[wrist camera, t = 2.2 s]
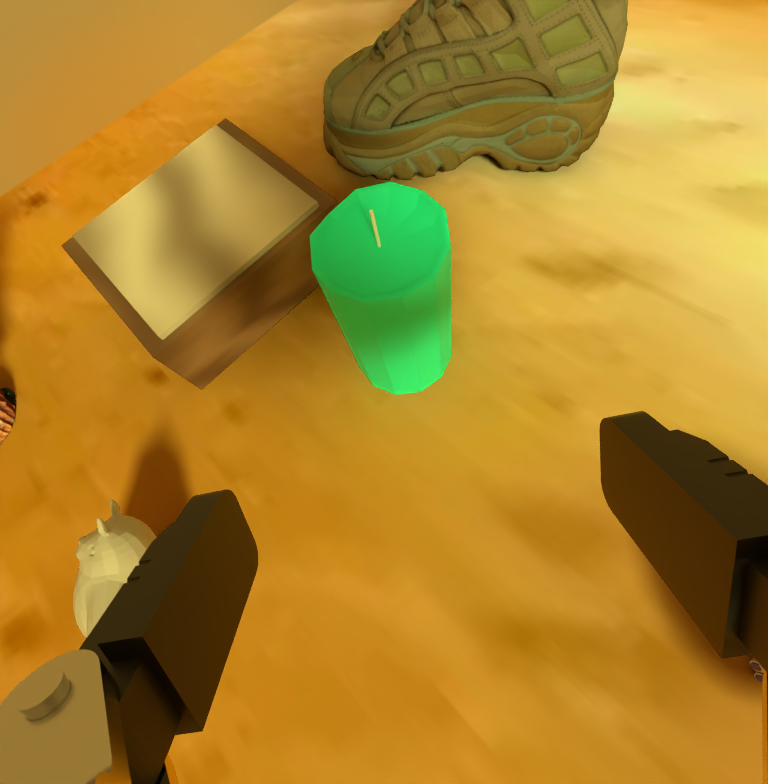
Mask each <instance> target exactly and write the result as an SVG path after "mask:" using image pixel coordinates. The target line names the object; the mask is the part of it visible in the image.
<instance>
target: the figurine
mask: <svg viewBox="0 0 768 784" xmlns="http://www.w3.org/2000/svg"><path fill="white" fill-rule="evenodd" d="M110 504H111V513H112V516H111V517H110V518H109V519H108V520H107V521H106V522H104V521H103V520H102V519H101V518H97V525H98V528H97V529H96V530H95V531H93V532H92V533H90V534H88V535H87V536H84V537H81V538H80V539H79V546H78V549H77V553H76V556H77V558H78V559H79V560H80V564H79V566H80V568H79V571H78V575H77V578H76V584H75V590H74V595H73V609H74V614H75V618H76V622H77V625H78V627H79V629H80V630H81V632H82V633H83V635H84V636H85V637H86V638H87V637H88V635H89V634H90V633H91V631H92V630H93V628H94V627H95V625H96V624H97V622H98V621H99V619H100V618H101V616H102V615H103V613H104V612H105V610H106V609H107V607H108V606H109V604H110V603H111V602H112V600H113V599H114V597H115V596H116V594H117V593H118V591H119V590H120V588H121V587H122V585H123V584H124V583H127V578H128V576H129V575H130V574H131V572H132V571H133V569H134V568H135V566H138V565H139V560H140V559H141V557H142V556H143V554H144V553H145V551H146V550H147V548H148V547H149V546H150V544H151V543H152V541H153V540H154V539H156V538H157V536H156V535H155V534H154V533H153V531H152V530H151V529H150V528H149V527H148V526H147V525H146V524H145V523H144V522H142V521H141V520H139V519H137V518H135V517H131V516H127V515H121V514H120V513H119V505H118V504H117V503H116V502H115V501H114V500H112V499H111V500H110Z"/></svg>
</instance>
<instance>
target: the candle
mask: <svg viewBox="0 0 768 784" xmlns="http://www.w3.org/2000/svg"><path fill="white" fill-rule="evenodd" d="M310 247H311V262H312V270H313V272H314V274H315V277H316V279H317V281H318V283H319V285H320V287H321V289H322V291H323V293H324V295H325V297H326V299H327V301H328V303H329V305H330V307H331V309H332V311H333V314H334V316H335V318H336V320H337V322H338V324H339V326H340V328H341V330H342V332H343V334H344V336H345V338H346V340H347V342H348V344H349V346H350V349H351V351H352V353H353V355H354V357H355V359H356V361H357V363H358V365H359V367H360V369H361V370H362V371H363V373H364V374H365V375H366V377H367V378H368V379H369V381H370V382H371V383H372V385H373V386H375V387H378V388H380V389H383V390H385V391H388V392H390V393H393V394H395V395H398V394H406V393H414V392H421V391H423V390H424V389H426V388H427V387H428V386H430V385H431V384H433V383H434V382H435V381H437V380H438V379H440V378H441V377H442V375H443V373H444V371H445V369H446V367H447V364H448V362H449V360H450V358H451V356H452V355H451V243H450V236H449V229H448V222H447V215H446V209H445V208H444V207H442V206H441V205H440V204H439V203H437V202H436V201H435V200H434V199H433V198H431V197H430V196H429V195H428V194H427V193H425V192H424V191H422V190H419V189H415V188H412V187H408V186H405V185H401V184H397V183H394V182H386V183H381V184H377V185H373V186H368V187H364V188H359V189H355V190H354V191H353V192H352V193H351V194H350V195H349V196H348V197H347V198H345V199H344V200H343V201H342V202H341V203H340V204H339V205H338V206H337V207H335V208H334V209H333V210H332V211H331V212H330V213H329V214H328V215H327V216H326V217H325V218H324V220H323V221H322V222H321V223H320V224H319V225H318V227H317V228H316V229H315V230H314V231H313V232H312V234H311V235H310Z"/></svg>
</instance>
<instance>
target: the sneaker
mask: <svg viewBox="0 0 768 784" xmlns="http://www.w3.org/2000/svg"><path fill="white" fill-rule="evenodd" d="M627 7H628V0H417V1H416V2H415V3H414V4H413V5H412V6H411V7H410V8H409V9H408V10H407V11H406V12H405V13H403V14H402V15H401V18H400V20H399V21H398V22H397V23H396V24H395V25H394V26H393V27H392V28H391V29H389V30H388V31H383V32H382V34H381V35H380V36H379V37H378V39H377V40H376V42H375V43H374V45H372V46H369V47H365V48H363V49H361V50H360V51H358V52H356V53H355V54H353V55H352V56H350V57H348V58H347V59H345V60H344V61H343V62H342V63H340V64H339V65H338V66H337V67H336V68H334V69H333V70H332V72H331V73H330V75H329V76H328V78H327V80H326V81H325V86H324V99H323V100H324V116H325V118H324V142H325V146H326V149H327V151H328V152H329V153H330V155H332V156H334V157H335V158H336V159H337V162H338V164H340V165H341V166H343V167H344V168H345V169H347V170H349V171H351V172H353V173H356V174H358V175H361V176H364V177H366V176H368V175H374V176H375V177H376V178H377V179H385V180H390V178H391V177H392V176H393V175H394V176H396V177H398V178H399V179H404V180H410V179H412V177H413V176H414V175H415V174H416V173H418V174H419V175H421V176H424V177H426V178H427V177H431V176H435V173H436V172H437V170H438V169H439V170H441V171H442V172H444V171H450V170H454V169H455V168H457V167H458V166H459V165H460V164H462V163H463V162H464V161H466V160H467V159H469V158H470V157H472V156H474V155H483V154H488V155H490V156H491V157H493V158H495V160H496V161H497V162H498V163H499V164H500V165H501V166H502V168H503V169H508V170H515V169H519V170H523V171H527V172H535V171H536V170H538V169H539V168H541V169H543V170H544V171H545V172H550V171H556V170H558V169H559V168H560V167H561V166H570V165H571V164H573V163H574V162H576V161H577V160H578V159H579V157H580V155H581V154H582V153H583V152H585V151H586V150H588V149H589V148H590V147H591V145H592V144H593V142H594V141H595V140H596V138H597V137H598V135H599V131H600V127H601V126H602V125H603V124H604V122H605V120H606V118H607V115H608V112H609V110H610V107H611V104H612V101H613V97H614V80H615V77H616V74H617V72H618V61H619V58H620V55H621V52H622V49H623V45H624V41H625V36H626V31H627V25H628V23H627Z"/></svg>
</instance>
